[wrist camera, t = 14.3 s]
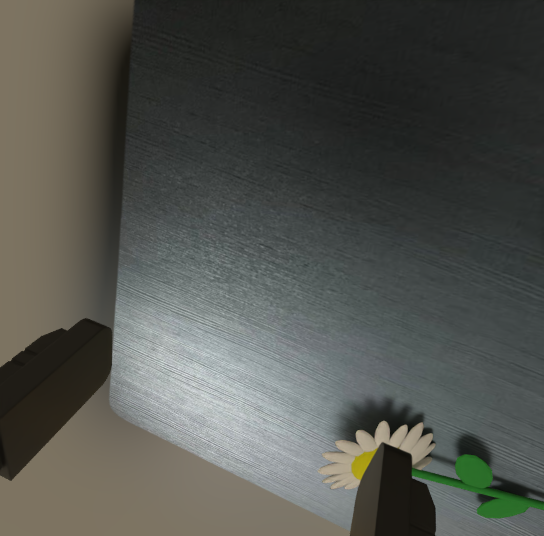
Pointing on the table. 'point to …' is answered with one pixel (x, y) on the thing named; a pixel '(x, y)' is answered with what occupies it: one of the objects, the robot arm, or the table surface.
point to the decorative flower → (467, 468)
